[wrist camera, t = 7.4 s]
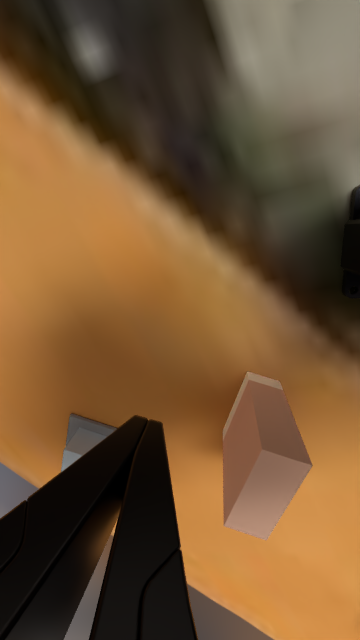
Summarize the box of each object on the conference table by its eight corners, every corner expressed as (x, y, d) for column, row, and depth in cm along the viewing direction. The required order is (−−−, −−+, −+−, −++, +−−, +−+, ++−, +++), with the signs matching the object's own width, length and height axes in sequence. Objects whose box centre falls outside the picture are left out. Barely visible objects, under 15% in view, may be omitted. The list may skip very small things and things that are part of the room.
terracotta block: (279, 380, 20) (312, 465, 12) (251, 439, 22) (266, 540, 15) (247, 371, 20) (262, 449, 13) (222, 430, 22) (223, 525, 15)
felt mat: (155, 440, 23) (154, 443, 23) (138, 499, 26) (137, 502, 26) (71, 413, 24) (69, 415, 23) (63, 474, 26) (61, 477, 26)
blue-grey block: (151, 478, 21) (63, 449, 21) (136, 524, 23) (57, 497, 23) (158, 453, 23) (79, 427, 24) (144, 497, 25) (72, 473, 26)
